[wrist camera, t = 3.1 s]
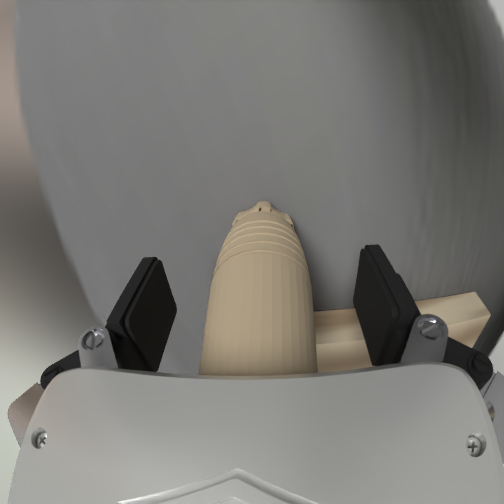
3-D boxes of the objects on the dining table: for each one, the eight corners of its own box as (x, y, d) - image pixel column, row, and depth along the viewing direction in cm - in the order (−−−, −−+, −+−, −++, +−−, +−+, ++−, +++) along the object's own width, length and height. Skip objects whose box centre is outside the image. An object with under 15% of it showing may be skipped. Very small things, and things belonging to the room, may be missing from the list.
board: (241, 315, 20) (238, 349, 17) (475, 291, 18) (491, 315, 15) (257, 402, 27) (256, 427, 25) (426, 381, 25) (433, 402, 23)
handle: (313, 262, 17) (353, 535, 4) (209, 258, 17) (144, 527, 5) (323, 188, 15) (441, 523, 2) (204, 183, 15) (61, 510, 2)
